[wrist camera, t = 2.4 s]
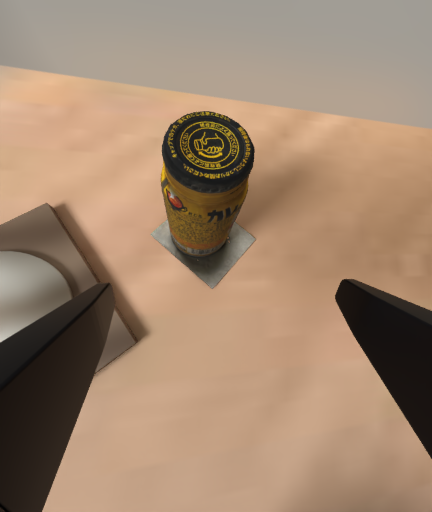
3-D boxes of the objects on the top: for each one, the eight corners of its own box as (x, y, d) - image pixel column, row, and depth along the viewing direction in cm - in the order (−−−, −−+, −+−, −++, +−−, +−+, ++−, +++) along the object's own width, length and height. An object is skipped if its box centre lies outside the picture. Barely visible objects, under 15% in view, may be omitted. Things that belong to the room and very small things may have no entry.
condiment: (197, 192, 25) (205, 79, 13) (255, 239, 24) (317, 163, 12) (150, 235, 22) (111, 145, 11) (212, 289, 22) (238, 253, 10)
